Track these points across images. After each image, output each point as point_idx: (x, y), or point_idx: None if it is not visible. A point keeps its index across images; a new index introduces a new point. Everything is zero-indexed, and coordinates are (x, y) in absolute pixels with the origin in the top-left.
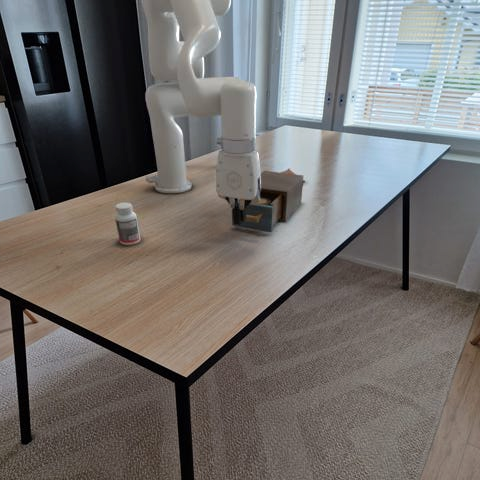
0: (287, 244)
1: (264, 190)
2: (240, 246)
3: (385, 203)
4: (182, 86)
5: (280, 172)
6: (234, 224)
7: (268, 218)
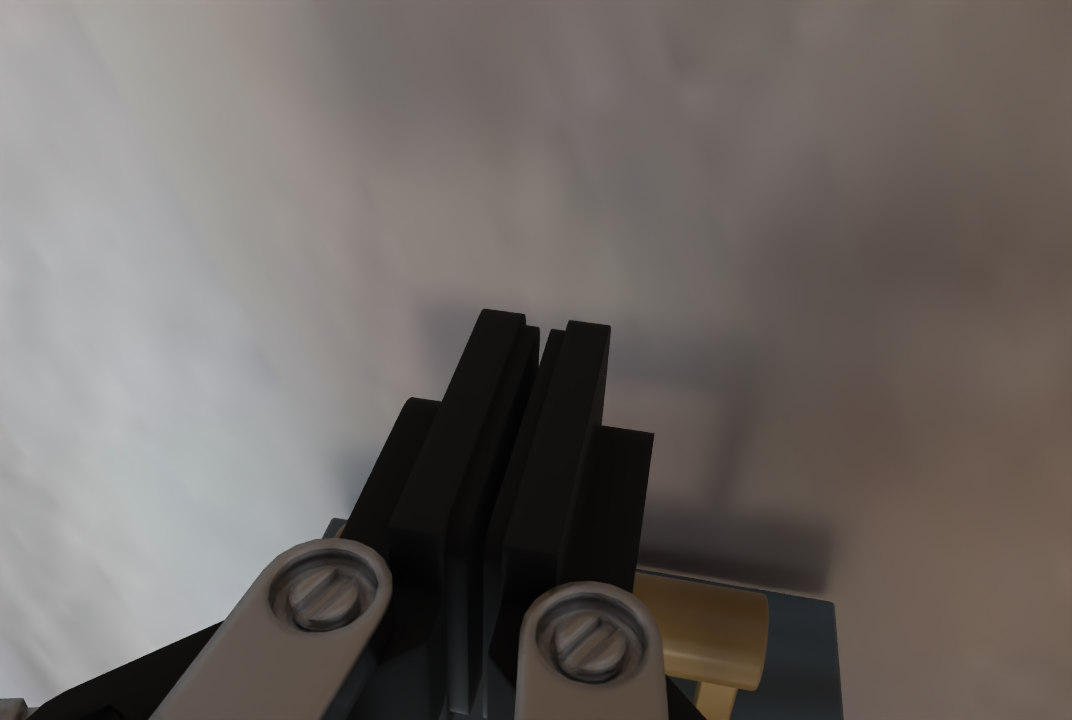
0: (101, 348)
1: None
2: (574, 166)
3: None
4: None
5: None
6: (801, 611)
7: None
